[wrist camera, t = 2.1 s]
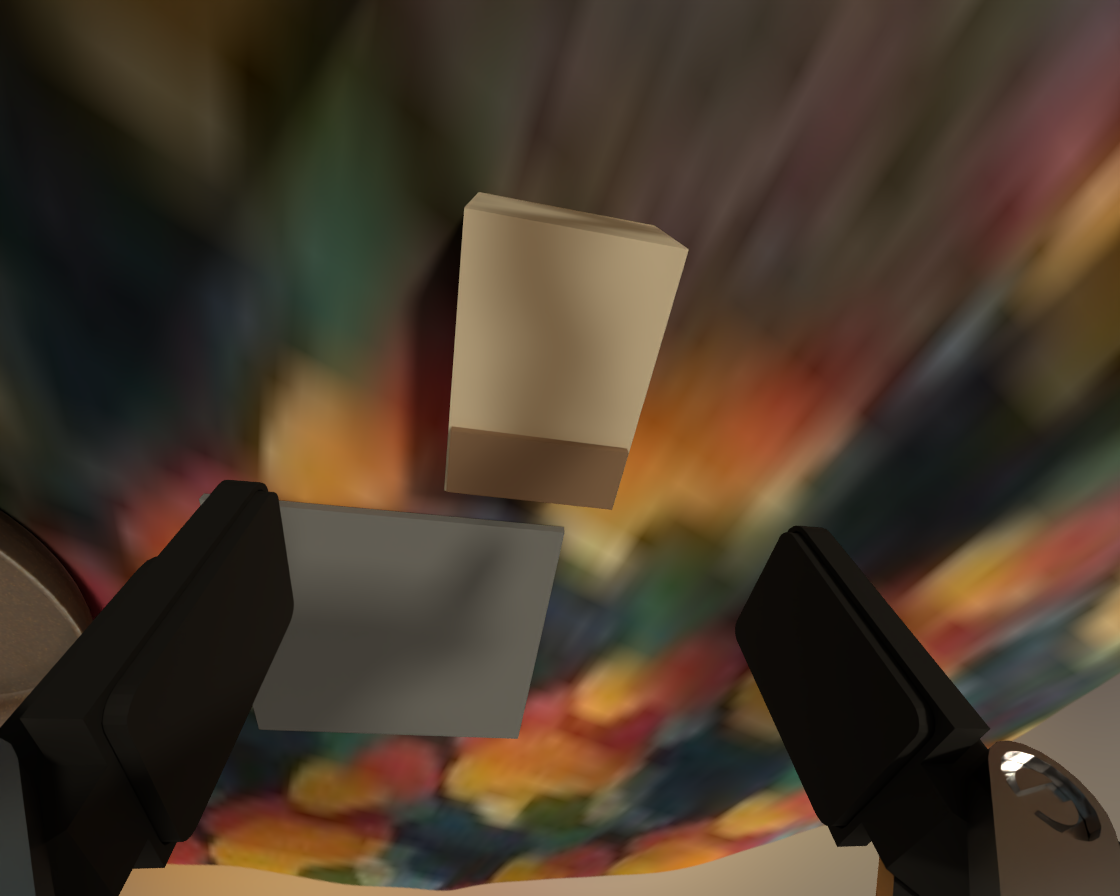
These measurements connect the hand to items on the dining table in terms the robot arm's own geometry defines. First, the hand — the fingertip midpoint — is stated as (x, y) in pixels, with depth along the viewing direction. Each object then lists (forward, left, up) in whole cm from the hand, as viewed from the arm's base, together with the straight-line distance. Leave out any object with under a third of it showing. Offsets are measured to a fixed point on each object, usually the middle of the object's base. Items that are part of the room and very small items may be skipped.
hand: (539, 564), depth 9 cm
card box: (0, -1, -12) cm, 12 cm away
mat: (+5, +18, -11) cm, 22 cm away
